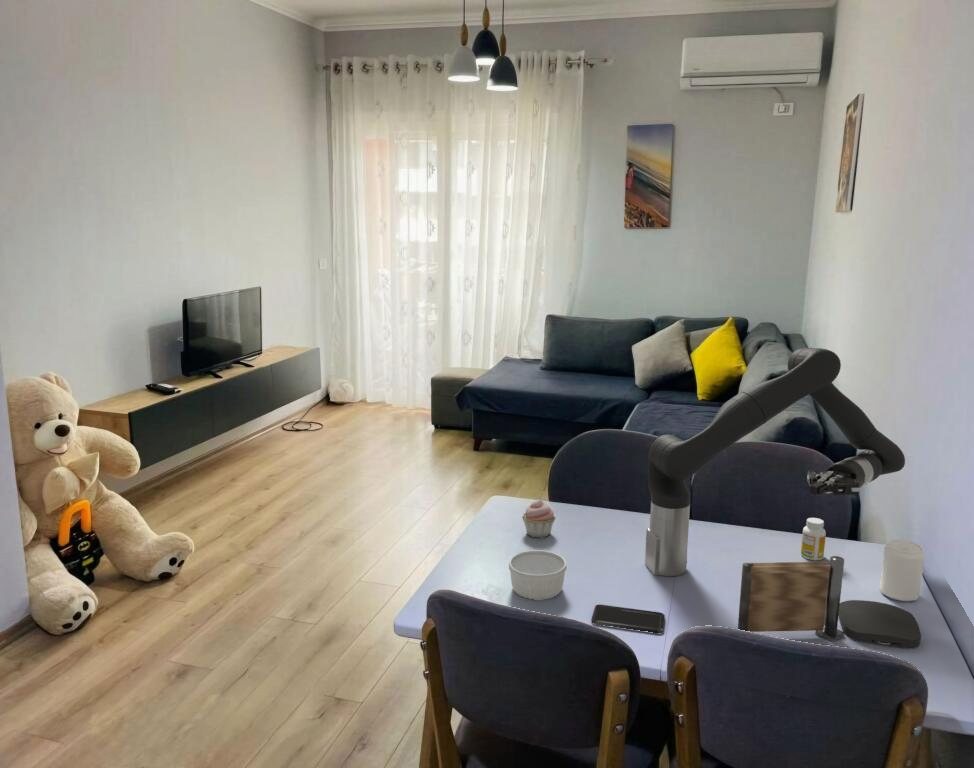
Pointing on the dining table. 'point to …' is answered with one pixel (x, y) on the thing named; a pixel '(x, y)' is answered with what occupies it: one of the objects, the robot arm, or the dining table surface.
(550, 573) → the ramekin
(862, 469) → the robot arm
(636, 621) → the phone
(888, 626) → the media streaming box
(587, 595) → the dining table surface
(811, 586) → the wooden gate
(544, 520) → the cupcake
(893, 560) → the beverage can
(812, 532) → the supplement bottle
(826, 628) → the gate post
